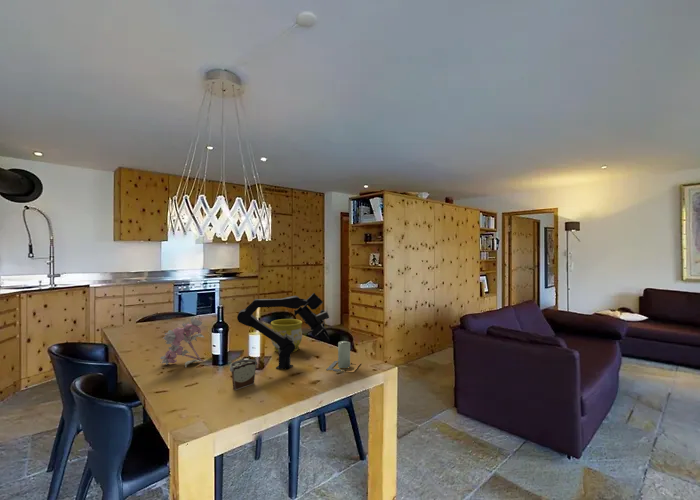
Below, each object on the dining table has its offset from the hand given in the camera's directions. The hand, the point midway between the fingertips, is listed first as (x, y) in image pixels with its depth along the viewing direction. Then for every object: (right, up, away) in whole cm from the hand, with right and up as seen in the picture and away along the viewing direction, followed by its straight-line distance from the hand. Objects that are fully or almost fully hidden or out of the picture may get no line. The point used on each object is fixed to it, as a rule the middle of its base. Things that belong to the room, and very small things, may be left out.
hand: (329, 339), depth 178 cm
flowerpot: (-26, -13, +28) cm, 40 cm away
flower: (-76, -13, +1) cm, 77 cm away
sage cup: (+8, -13, -1) cm, 15 cm away
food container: (-36, -13, -26) cm, 47 cm away
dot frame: (+8, -13, -1) cm, 15 cm away
